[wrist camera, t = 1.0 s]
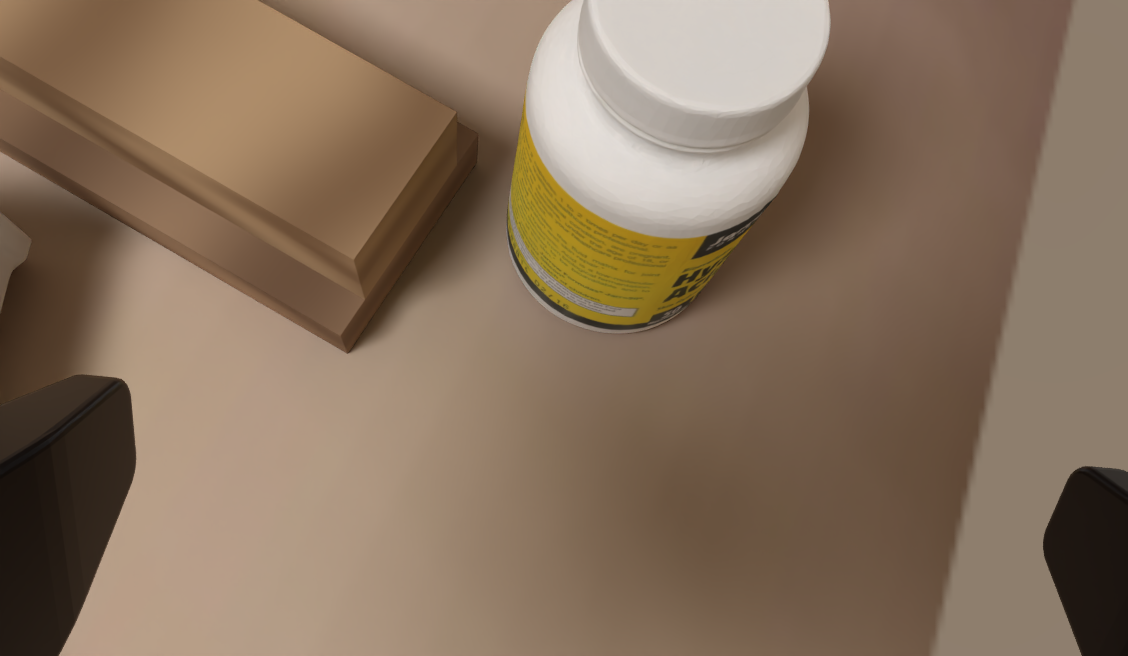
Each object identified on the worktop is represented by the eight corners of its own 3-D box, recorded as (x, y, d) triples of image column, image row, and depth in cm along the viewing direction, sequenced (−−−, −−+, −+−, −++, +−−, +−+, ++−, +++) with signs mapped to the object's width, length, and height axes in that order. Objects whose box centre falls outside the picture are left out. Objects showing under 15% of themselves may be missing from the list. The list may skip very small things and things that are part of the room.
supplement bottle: (659, 377, 23) (794, 217, 14) (466, 274, 23) (472, 48, 14) (747, 204, 25) (921, -44, 16) (566, 109, 25) (631, -191, 16)
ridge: (477, 161, 24) (480, 77, 21) (347, 353, 23) (325, 299, 19) (24, -94, 25) (-53, -221, 21) (-137, 71, 23) (-252, -35, 19)
